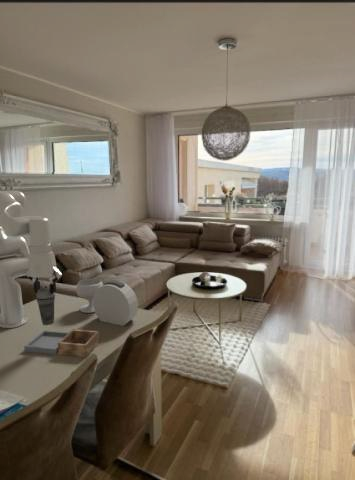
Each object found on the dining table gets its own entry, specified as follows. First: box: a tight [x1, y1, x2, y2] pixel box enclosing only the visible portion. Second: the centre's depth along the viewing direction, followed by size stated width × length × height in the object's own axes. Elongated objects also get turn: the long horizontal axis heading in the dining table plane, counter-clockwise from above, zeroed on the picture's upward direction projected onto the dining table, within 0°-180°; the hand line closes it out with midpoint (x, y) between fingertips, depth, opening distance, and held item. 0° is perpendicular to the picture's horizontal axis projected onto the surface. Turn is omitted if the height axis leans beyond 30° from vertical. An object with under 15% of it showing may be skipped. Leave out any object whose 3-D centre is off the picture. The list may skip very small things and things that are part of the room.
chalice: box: [75, 278, 104, 314], centre depth 175 cm, size 14×14×15 cm
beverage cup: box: [35, 278, 56, 326], centre depth 136 cm, size 7×7×20 cm
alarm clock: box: [93, 279, 139, 327], centre depth 161 cm, size 21×8×20 cm, turn 65°
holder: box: [58, 329, 101, 358], centre depth 136 cm, size 12×12×5 cm
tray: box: [23, 330, 70, 355], centre depth 140 cm, size 14×14×2 cm
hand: (45, 291), depth 135 cm, fingers closed on beverage cup, 6 cm apart
